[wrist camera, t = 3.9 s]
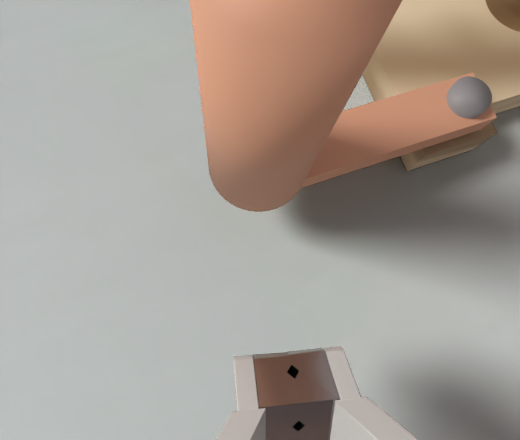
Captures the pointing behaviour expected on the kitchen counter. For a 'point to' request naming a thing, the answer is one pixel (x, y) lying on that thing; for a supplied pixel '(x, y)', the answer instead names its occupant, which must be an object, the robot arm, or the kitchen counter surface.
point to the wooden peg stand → (449, 59)
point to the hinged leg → (310, 96)
